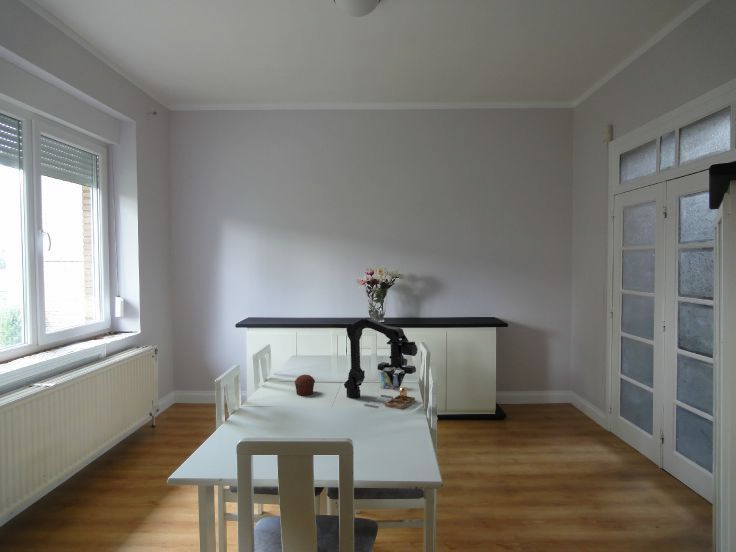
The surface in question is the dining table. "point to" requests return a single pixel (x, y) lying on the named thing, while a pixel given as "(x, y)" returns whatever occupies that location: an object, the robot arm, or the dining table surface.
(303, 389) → the muffin
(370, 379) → the dining table surface
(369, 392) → the dining table surface
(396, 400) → the tray
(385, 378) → the mug
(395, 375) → the cylinder
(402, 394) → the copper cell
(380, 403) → the cradle
